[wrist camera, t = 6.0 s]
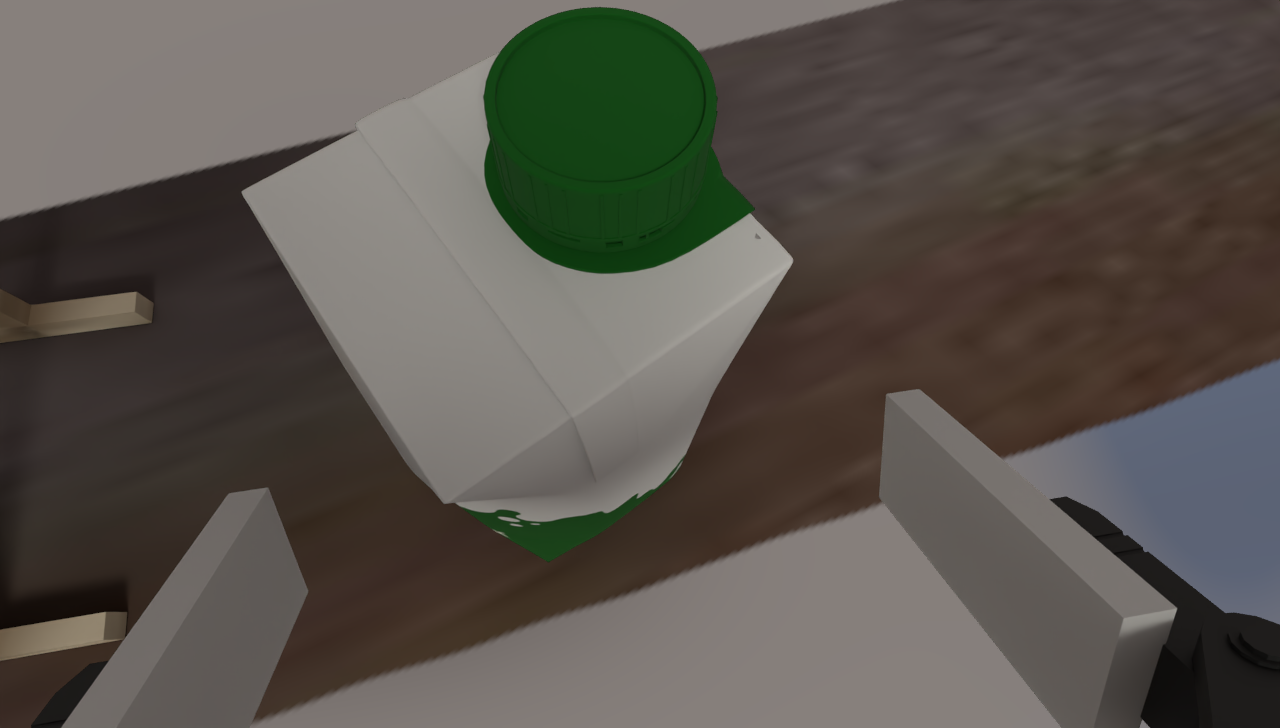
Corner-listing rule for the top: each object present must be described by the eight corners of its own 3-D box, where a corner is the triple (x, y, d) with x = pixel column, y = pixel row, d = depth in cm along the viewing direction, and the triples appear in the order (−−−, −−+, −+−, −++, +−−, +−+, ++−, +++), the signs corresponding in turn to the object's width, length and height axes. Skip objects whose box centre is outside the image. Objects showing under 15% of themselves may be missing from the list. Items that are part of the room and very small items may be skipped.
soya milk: (711, 466, 30) (881, 204, 11) (539, 597, 27) (381, 553, 9) (594, 318, 32) (568, -109, 13) (426, 428, 30) (109, 106, 11)
